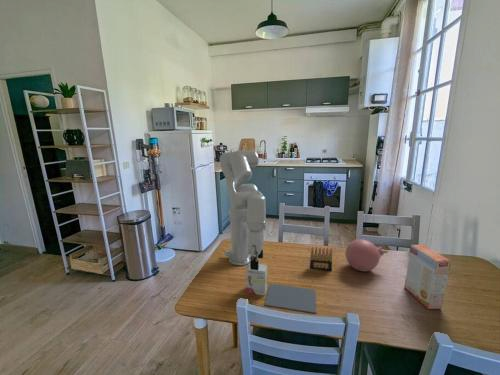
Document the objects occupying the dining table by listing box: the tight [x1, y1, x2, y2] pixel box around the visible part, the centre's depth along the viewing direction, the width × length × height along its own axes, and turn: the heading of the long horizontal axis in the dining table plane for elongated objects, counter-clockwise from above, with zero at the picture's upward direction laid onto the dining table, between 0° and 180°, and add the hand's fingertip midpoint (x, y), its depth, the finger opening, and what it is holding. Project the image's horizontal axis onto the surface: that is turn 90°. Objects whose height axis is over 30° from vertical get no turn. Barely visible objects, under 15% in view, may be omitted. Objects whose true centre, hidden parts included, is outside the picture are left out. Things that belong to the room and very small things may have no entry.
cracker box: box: [404, 244, 452, 310], centre depth 98 cm, size 14×6×21 cm, turn 2°
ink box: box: [245, 263, 268, 296], centre depth 104 cm, size 9×5×12 cm, turn 77°
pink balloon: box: [345, 238, 388, 272], centre depth 120 cm, size 15×20×15 cm
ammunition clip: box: [309, 246, 333, 272], centre depth 120 cm, size 11×2×12 cm, turn 79°
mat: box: [264, 283, 317, 314], centre depth 101 cm, size 20×14×1 cm
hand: (256, 263), depth 101 cm, fingers open, 9 cm apart
